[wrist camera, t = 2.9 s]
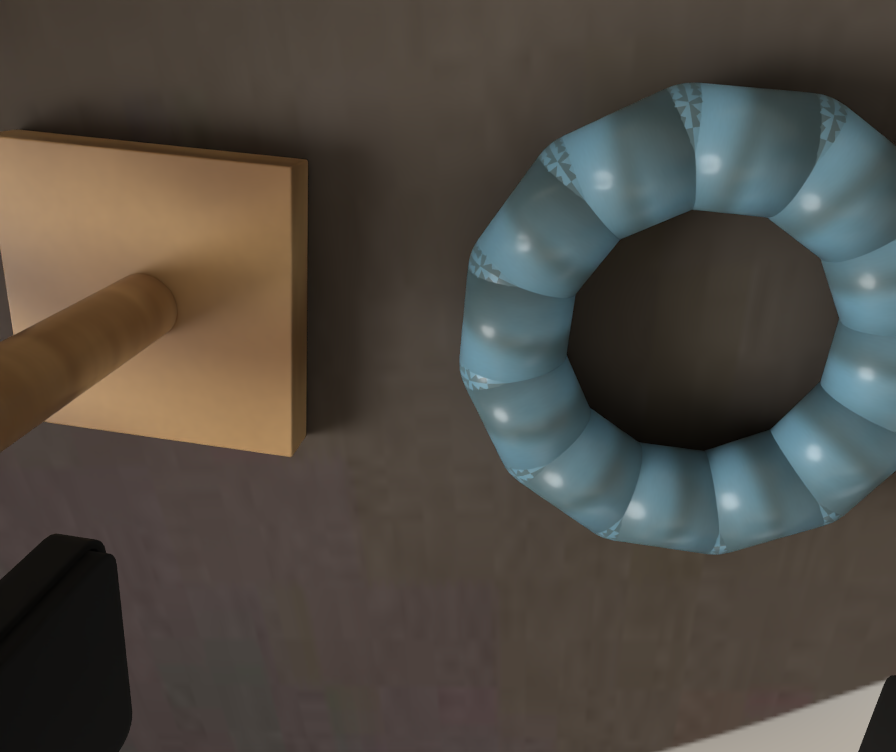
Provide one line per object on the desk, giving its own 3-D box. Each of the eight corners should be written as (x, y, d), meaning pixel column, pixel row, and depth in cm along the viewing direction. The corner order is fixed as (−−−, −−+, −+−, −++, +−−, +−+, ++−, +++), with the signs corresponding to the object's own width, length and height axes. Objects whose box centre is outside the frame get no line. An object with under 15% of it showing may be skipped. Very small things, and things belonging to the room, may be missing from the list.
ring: (492, 62, 21) (480, 65, 18) (1009, 108, 19) (1082, 119, 17) (452, 483, 26) (438, 534, 23) (859, 541, 25) (895, 603, 22)
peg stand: (16, 129, 23) (-513, 209, 12) (308, 159, 22) (40, 277, 11) (53, 400, 27) (-326, 662, 15) (306, 436, 26) (102, 741, 15)
